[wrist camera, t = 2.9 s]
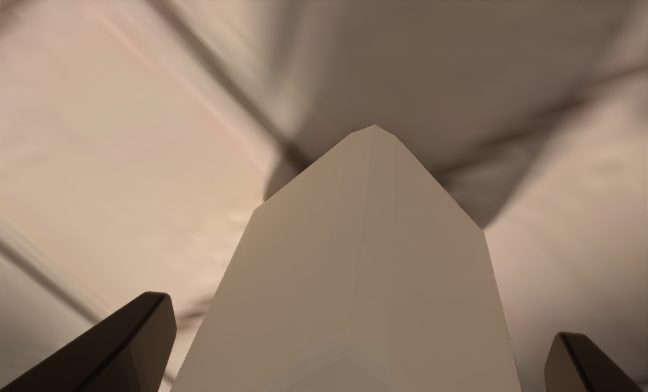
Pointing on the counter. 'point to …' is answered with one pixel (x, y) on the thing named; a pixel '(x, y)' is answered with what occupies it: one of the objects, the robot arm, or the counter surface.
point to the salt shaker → (356, 287)
